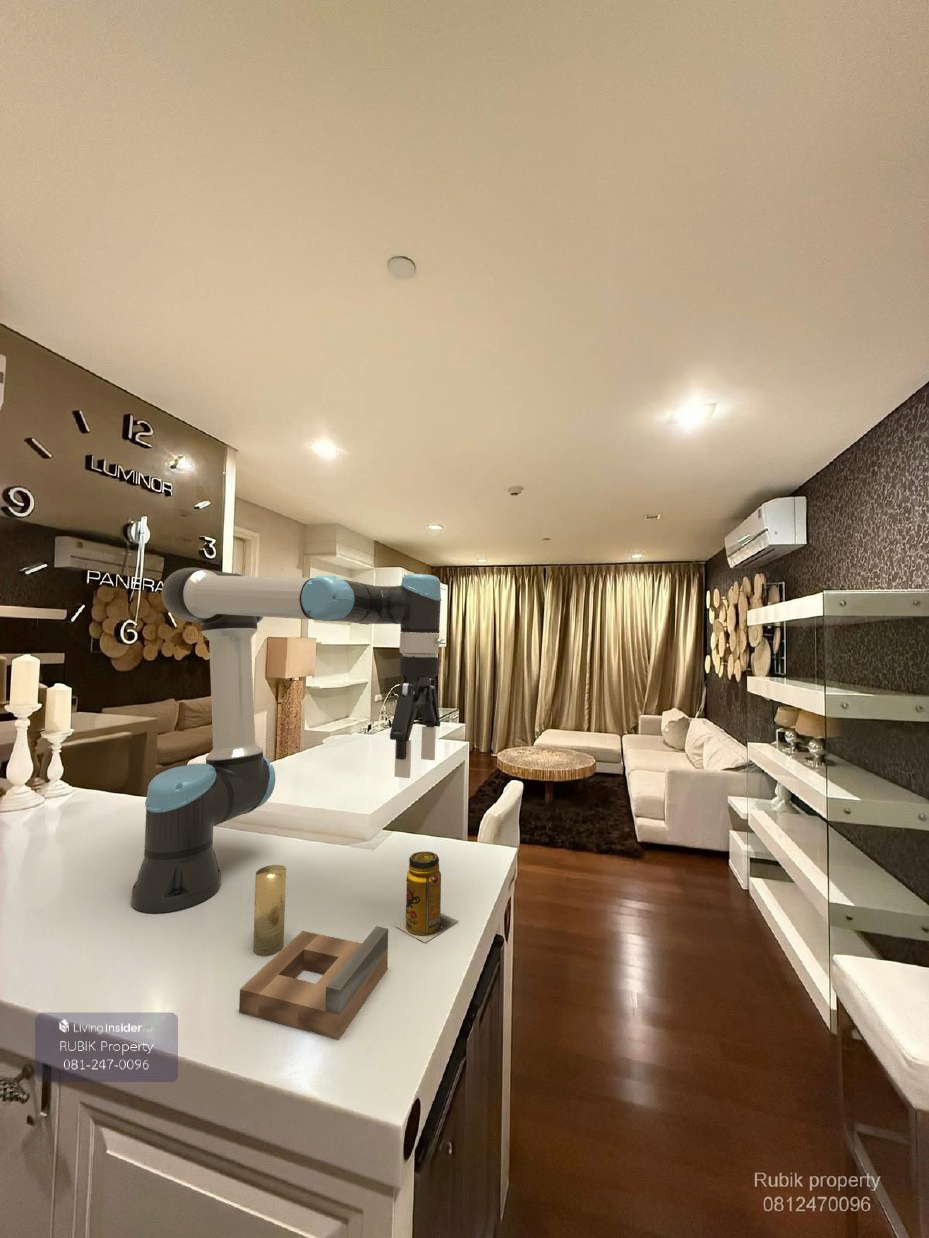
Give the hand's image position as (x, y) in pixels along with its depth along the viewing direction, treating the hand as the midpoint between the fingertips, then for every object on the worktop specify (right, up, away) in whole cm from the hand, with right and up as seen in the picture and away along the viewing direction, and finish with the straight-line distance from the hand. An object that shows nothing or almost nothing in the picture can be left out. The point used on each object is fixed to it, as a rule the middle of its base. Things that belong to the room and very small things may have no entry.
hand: (416, 767), depth 94 cm
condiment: (+3, -26, -7) cm, 27 cm away
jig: (-12, -25, -24) cm, 36 cm away
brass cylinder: (-22, -25, -14) cm, 36 cm away
